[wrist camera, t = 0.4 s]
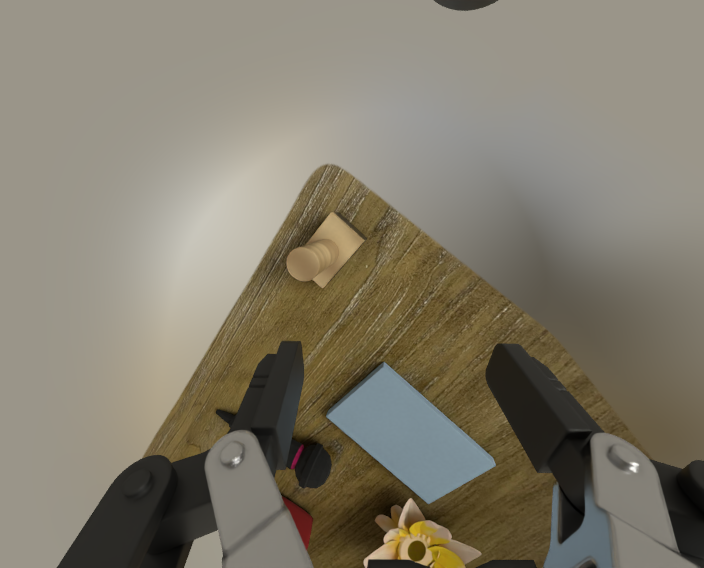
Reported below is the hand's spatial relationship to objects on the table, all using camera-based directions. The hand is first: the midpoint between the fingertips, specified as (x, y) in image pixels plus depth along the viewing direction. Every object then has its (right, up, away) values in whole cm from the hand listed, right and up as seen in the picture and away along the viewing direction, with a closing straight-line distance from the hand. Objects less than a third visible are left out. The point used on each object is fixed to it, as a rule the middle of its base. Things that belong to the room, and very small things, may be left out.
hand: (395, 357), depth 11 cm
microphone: (-13, -20, +29) cm, 38 cm away
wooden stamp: (-4, +7, +20) cm, 22 cm away
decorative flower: (+9, -35, +29) cm, 47 cm away
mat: (+6, -18, +25) cm, 31 cm away
